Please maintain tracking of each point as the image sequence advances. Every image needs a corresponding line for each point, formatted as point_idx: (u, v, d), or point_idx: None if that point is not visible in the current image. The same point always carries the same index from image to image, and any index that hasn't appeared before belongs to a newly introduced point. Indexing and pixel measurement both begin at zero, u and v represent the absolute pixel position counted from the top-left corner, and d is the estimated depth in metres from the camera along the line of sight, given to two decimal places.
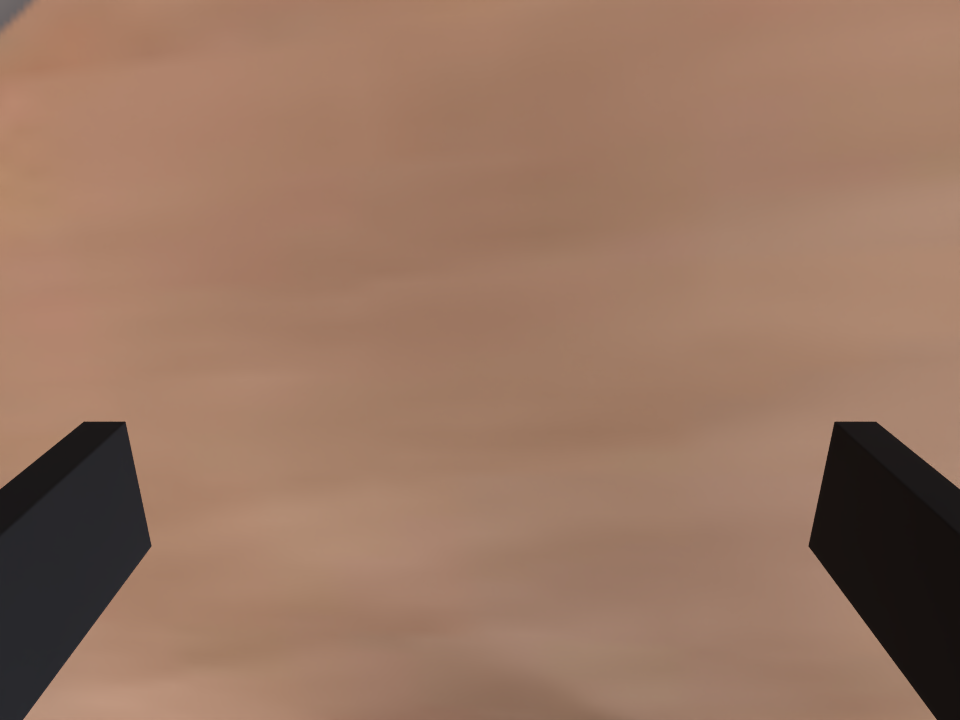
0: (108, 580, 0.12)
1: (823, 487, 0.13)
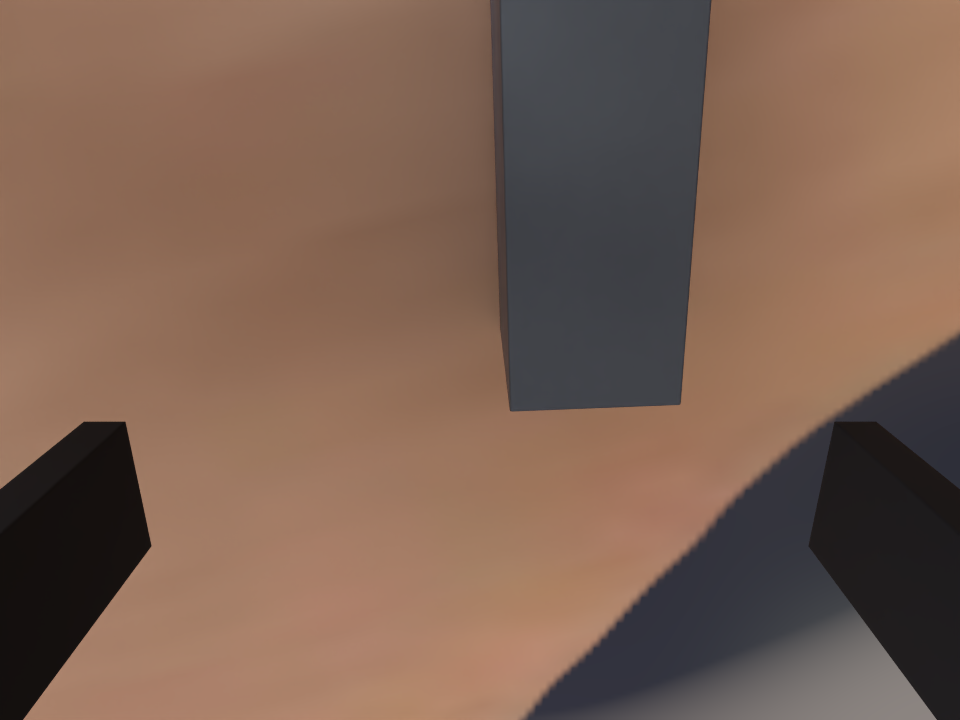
0: (108, 581, 0.12)
1: (823, 487, 0.13)
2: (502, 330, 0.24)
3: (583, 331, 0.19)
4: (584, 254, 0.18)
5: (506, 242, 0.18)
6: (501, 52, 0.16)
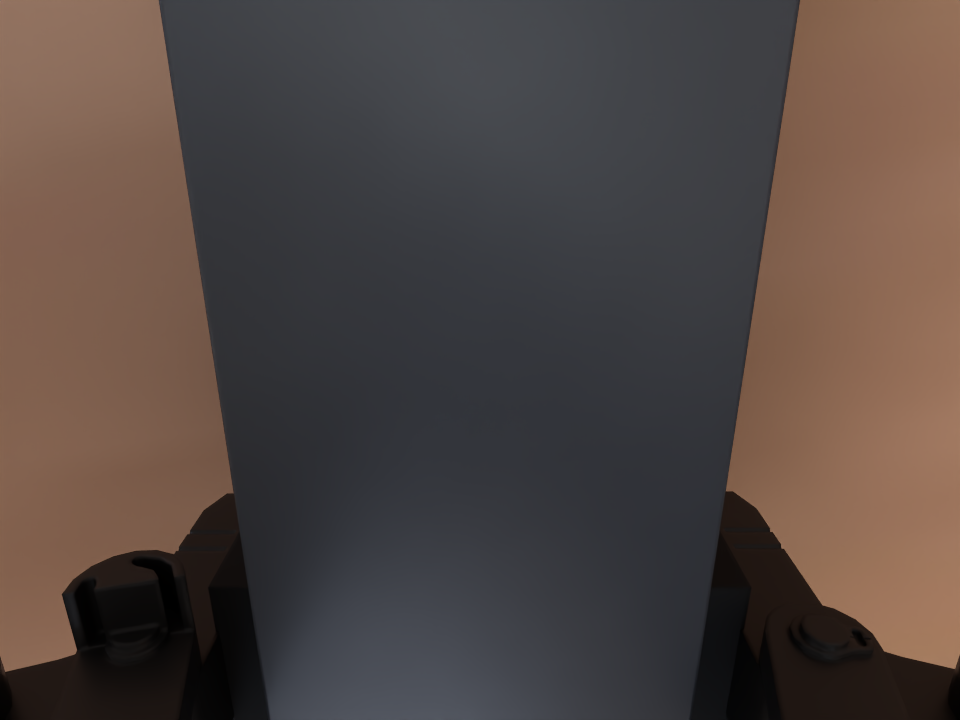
0: None
1: None
2: None
3: None
4: None
5: None
6: (217, 368, 0.06)
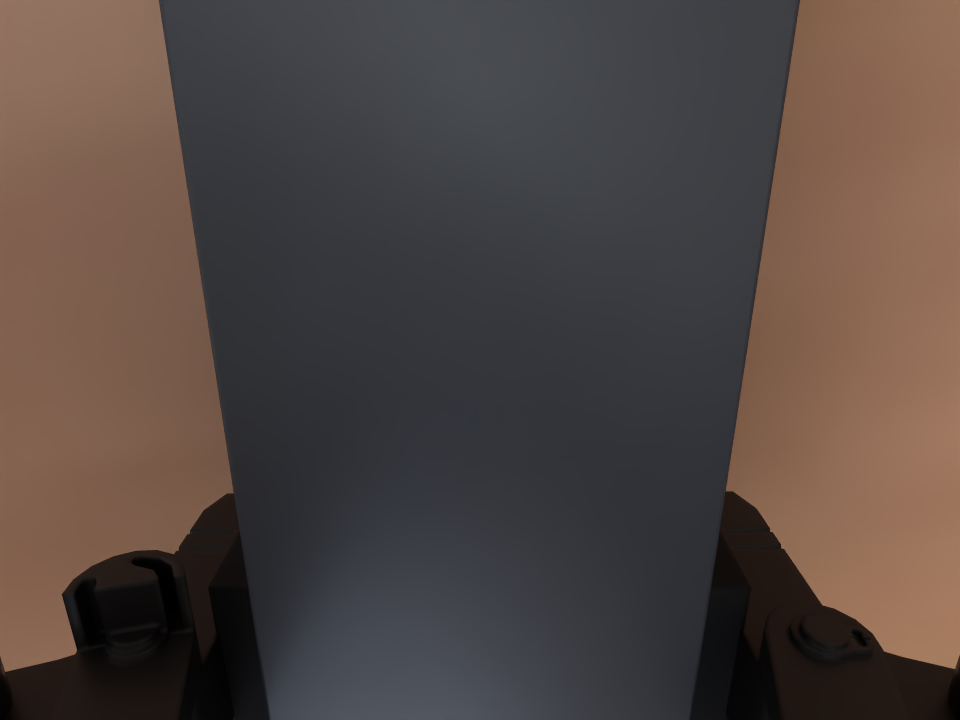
0: None
1: None
2: None
3: None
4: None
5: None
6: (217, 368, 0.06)
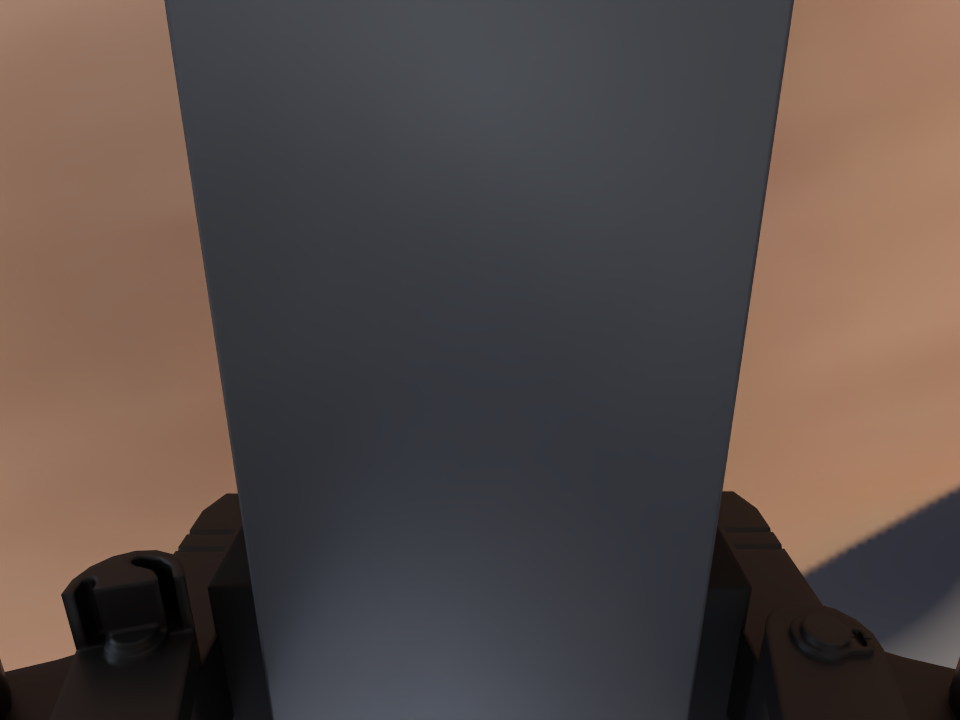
0: None
1: None
2: None
3: None
4: None
5: None
6: (221, 365, 0.06)
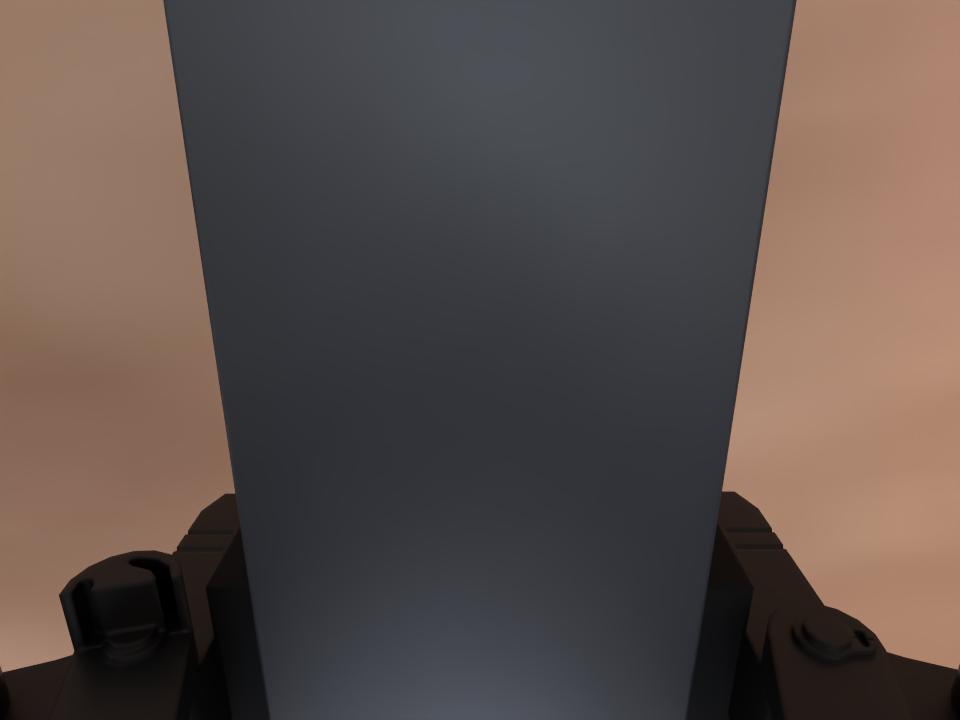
0: None
1: None
2: None
3: None
4: None
5: None
6: (219, 363, 0.06)
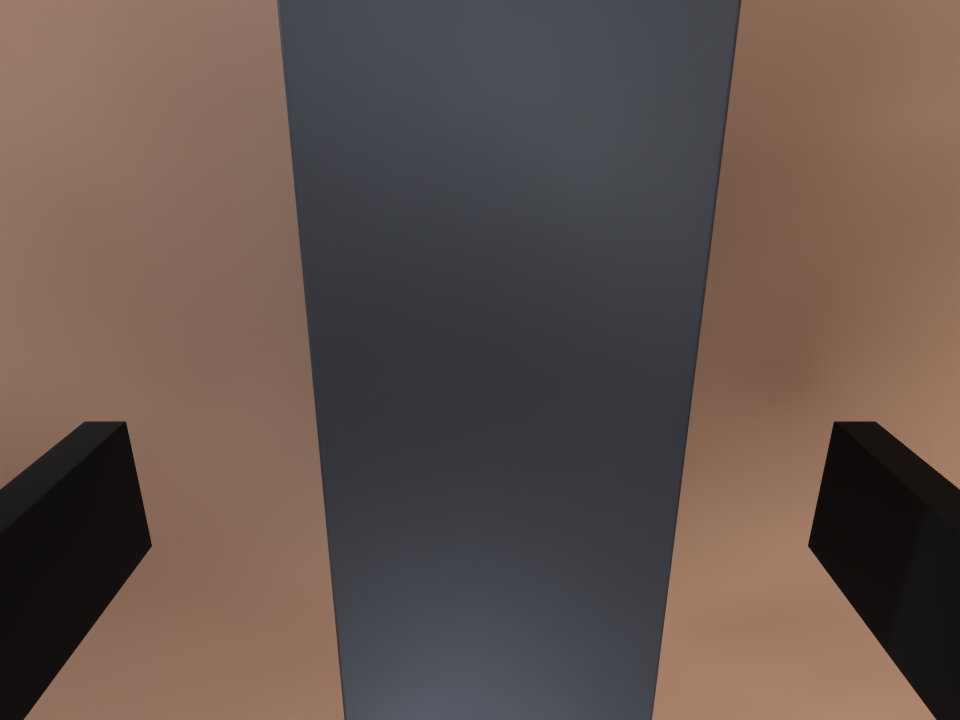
0: (108, 580, 0.12)
1: (823, 487, 0.13)
2: None
3: (474, 710, 0.11)
4: (472, 600, 0.10)
5: (332, 575, 0.10)
6: (304, 268, 0.08)
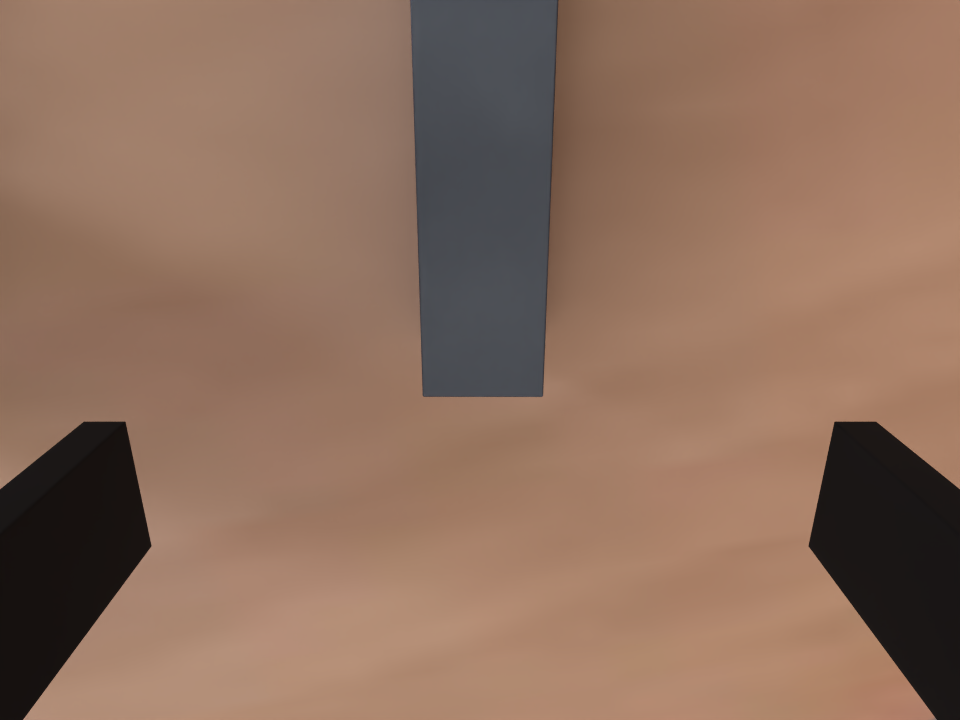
0: (108, 580, 0.12)
1: (823, 487, 0.13)
2: None
3: (473, 342, 0.27)
4: (472, 290, 0.26)
5: (419, 279, 0.26)
6: (415, 156, 0.25)
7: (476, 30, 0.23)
